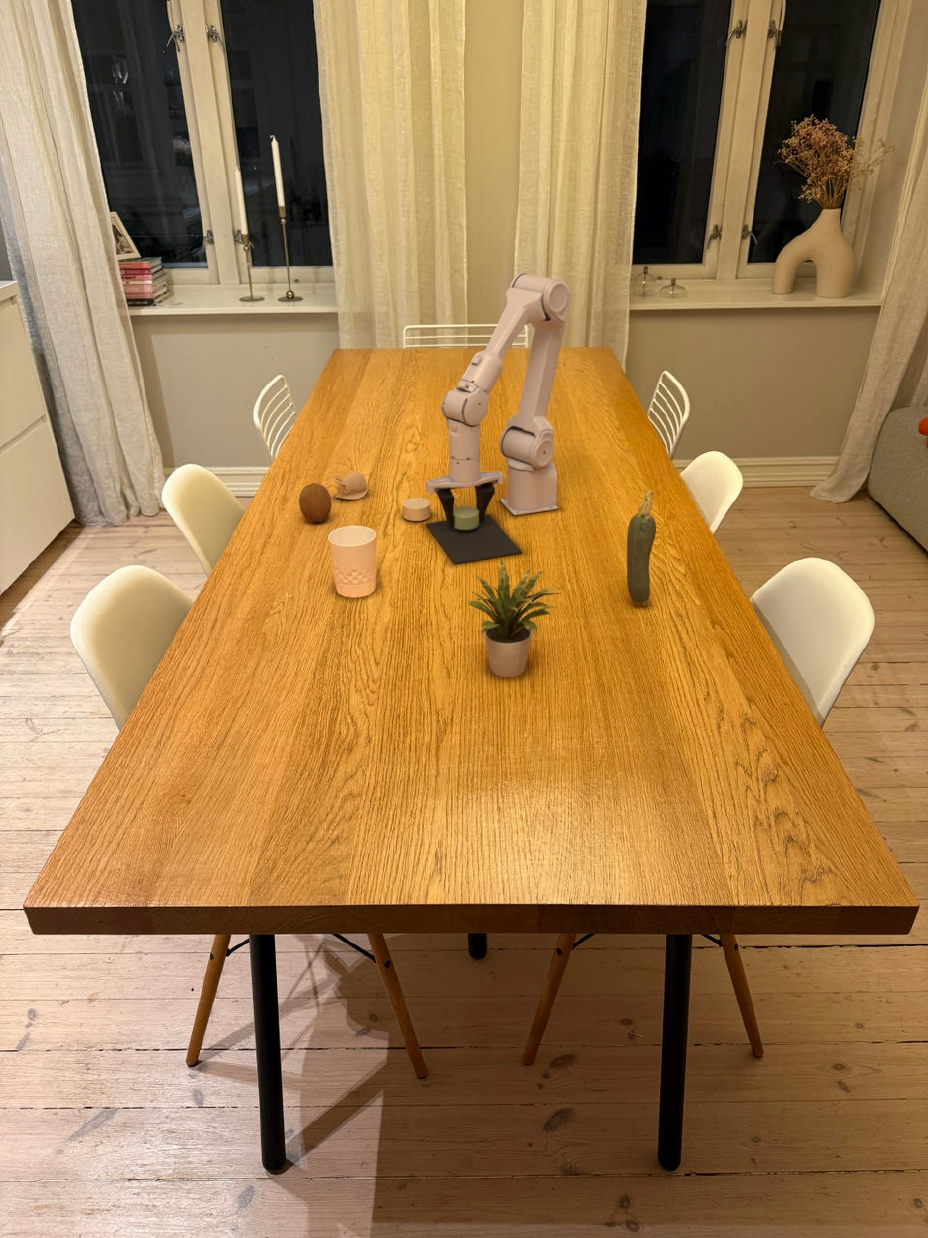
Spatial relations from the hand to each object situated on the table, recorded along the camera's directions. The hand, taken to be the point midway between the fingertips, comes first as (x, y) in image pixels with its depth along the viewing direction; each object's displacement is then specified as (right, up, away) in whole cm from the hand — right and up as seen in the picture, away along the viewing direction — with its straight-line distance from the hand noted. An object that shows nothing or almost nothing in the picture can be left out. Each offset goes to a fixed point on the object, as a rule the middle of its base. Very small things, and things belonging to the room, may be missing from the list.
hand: (465, 522), depth 182 cm
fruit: (-29, +1, +6) cm, 30 cm away
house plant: (+6, -26, -42) cm, 50 cm away
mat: (+1, -3, -2) cm, 4 cm away
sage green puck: (0, 0, 0) cm, 0 cm away
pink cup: (-19, -13, -19) cm, 30 cm away
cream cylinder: (-10, +2, +7) cm, 12 cm away
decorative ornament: (-24, +7, +16) cm, 29 cm away
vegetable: (+28, -16, -25) cm, 41 cm away
